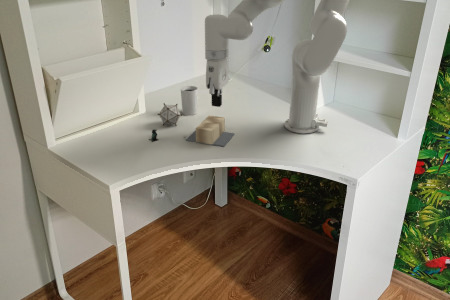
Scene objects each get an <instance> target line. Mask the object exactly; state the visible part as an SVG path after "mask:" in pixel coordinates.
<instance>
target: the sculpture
mask: <svg viewBox="0 0 450 300" xmlns="http://www.w3.org/2000/svg"><path fill="white" fill-rule="evenodd" d="M157 131H158V129H152V130H151V137H150V138H149V139H148V141H149V142H151V143H155V142H158V141H159V138H158V133H157Z"/></svg>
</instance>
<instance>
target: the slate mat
mask: <svg viewBox="0 0 450 300" xmlns="http://www.w3.org/2000/svg"><path fill="white" fill-rule="evenodd" d="M234 136H235V132H230V131H229V132H228V131H224V132H223V133H222V134H221V135H220V136H219V138H218V139H217V140H216V141H215V142H214V143H213V144H209V145H211V146H216V147H223V148H225V146H226V145H228V143H229V141H230V140H231V139H232V138H233V137H234ZM185 141H187V142H193V143H198V144H202V143H201V142H196V129H195V130H194V131H193V132H192V133H190V134H189V136H187V138H186V139H185ZM203 144H205V145H208V144H207V143H203Z"/></svg>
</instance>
